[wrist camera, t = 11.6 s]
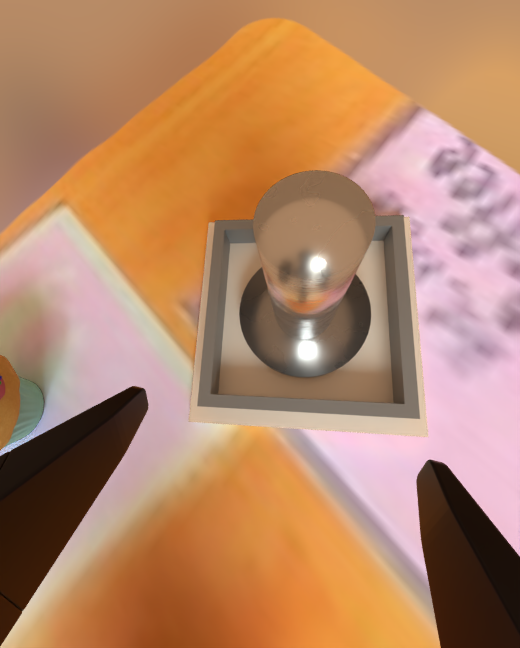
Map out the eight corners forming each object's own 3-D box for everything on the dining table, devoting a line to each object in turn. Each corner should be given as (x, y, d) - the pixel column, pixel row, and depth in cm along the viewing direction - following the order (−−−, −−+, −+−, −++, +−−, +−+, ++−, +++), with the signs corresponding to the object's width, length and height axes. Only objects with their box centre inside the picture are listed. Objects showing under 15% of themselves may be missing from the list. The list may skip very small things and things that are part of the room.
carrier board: (193, 420, 21) (177, 424, 18) (212, 229, 25) (201, 207, 22) (421, 434, 19) (444, 442, 16) (404, 224, 23) (420, 199, 20)
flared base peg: (272, 398, 20) (240, 406, 8) (225, 290, 22) (150, 177, 11) (389, 346, 20) (525, 279, 8) (330, 242, 22) (369, 76, 10)
